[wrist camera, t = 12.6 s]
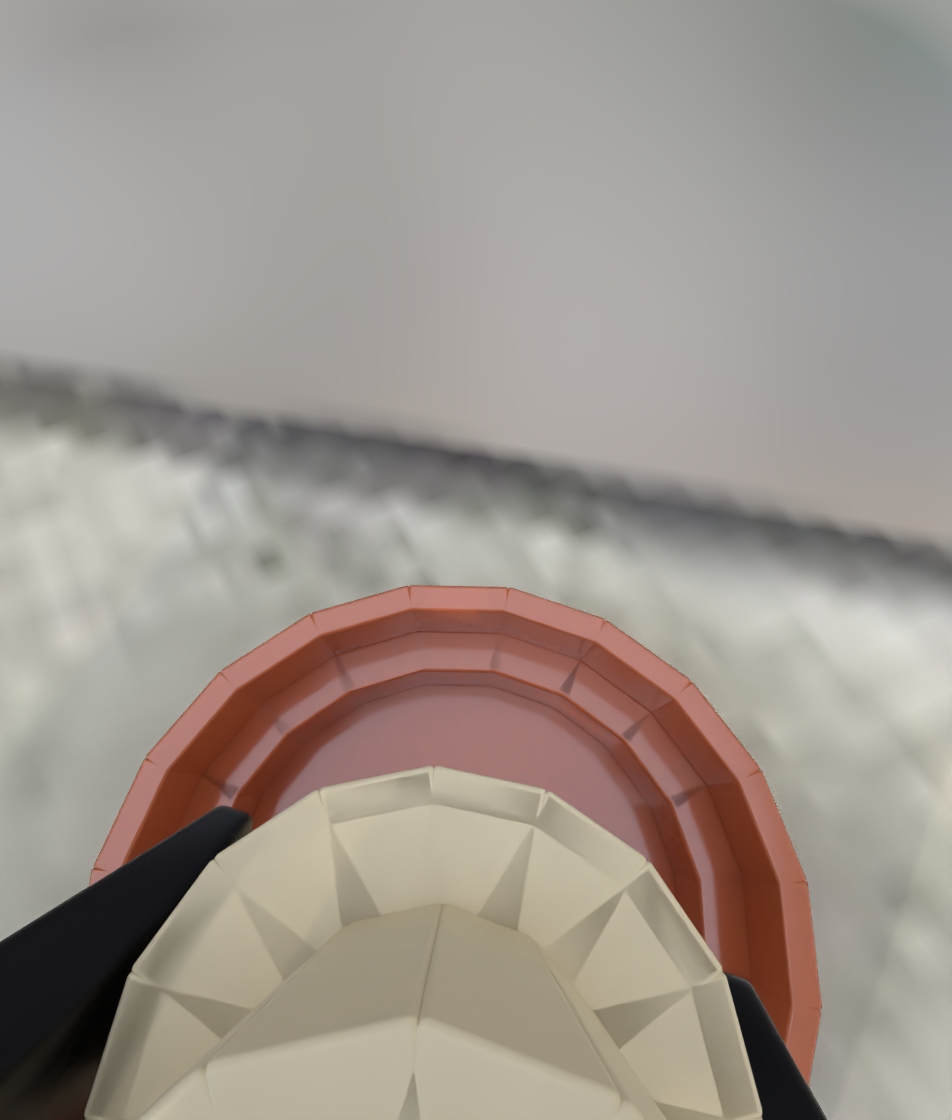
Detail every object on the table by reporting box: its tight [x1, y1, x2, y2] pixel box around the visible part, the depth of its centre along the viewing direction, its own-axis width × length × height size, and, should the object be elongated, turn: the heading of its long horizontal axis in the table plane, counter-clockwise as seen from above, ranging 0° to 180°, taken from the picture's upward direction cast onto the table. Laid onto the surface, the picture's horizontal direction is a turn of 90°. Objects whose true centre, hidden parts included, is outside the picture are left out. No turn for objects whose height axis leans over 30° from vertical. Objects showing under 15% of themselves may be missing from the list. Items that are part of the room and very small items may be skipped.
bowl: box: [89, 585, 822, 1086], centre depth 17 cm, size 14×14×5 cm
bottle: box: [84, 766, 762, 1120], centre depth 9 cm, size 6×6×13 cm
